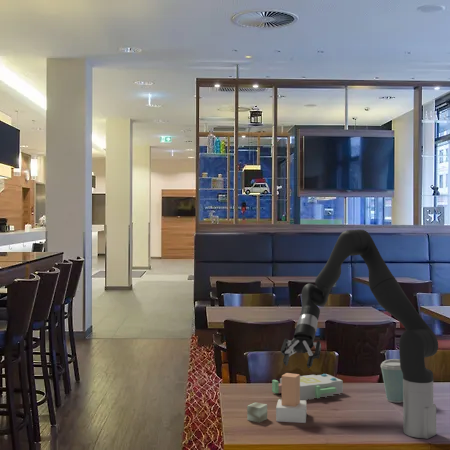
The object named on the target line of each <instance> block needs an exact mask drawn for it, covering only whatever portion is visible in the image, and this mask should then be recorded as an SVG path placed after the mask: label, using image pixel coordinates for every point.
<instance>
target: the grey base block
mask: <svg viewBox="0 0 450 450" xmlns="http://www.w3.org/2000/svg"><path fill="white" fill-rule="evenodd" d="M275 419H276V420H275V421H276V422H282V423H283V422H286V423H301V424H306V423H307V400H300V403H299V404H298V405H297V406H296V407H294V406H287V405H282V398H281V399H277V403H276V407H275Z"/></svg>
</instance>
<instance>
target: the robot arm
mask: <svg viewBox="0 0 450 450" xmlns="http://www.w3.org/2000/svg"><path fill="white" fill-rule="evenodd" d="M350 256H351V257H352V256H360V257H361V258H362V259H363V261H364V263H365V265H366V266H367V270H368V286H369V290H370V291H371V293H372V295H373V296H374V298H375V300H376V301H377V303H378V305H380V307H382V308H383V310H385V311H386V312H387V313H388V314H390V315H391V316H393V318H394V319H396V320H398V322H400V323H401V325H402V326H403V328H404V329H405V331H403V333H402V334H401V336H400V338H399V344H398V350H399V351H398V352H399V359H400V367H401V371H402V373H403V402H402V409H403V411H402V412H403V413H402V415H403V416H402V419H403V421H402V423H403V425H402V426H403V433H404V434H405V435H407V436H408V437H412V438H418V439H426V440H428V439H430V438H432V437H434V436H436V435H437V404H436V403H434V373H433V370H431V369H429V368H426V363H425V358H429V357H432V356H435V355H436V353H437V352H438V351H439V350H438V349H439V341H438V338H437V336H436V335H435V333H434V331H433V330H432V329H431V327H430V326H429V325H428V324H427V323H426V321H425V320H424V319H423V317H422V316H421V315H420V314H419V313H418V311H417V310H416V307H414V305H413V304H412V301H410V299H409V298H408V296H407V295H406V293H405V291H404V290H403V288H402V287H401V284H400V283H399V282H398V280H397V278H396V277H395V276H394V274H392V272H391V270H390V269H389V266H388V265H387V264H386V261H385V260H384V259H383V257H382V255H381V253H380V251H379V249H378V247H377V244H376V243H375V241H374V240H373V237H372V235H371V234H370V233H369V232H367V230H364V229H350V230H348V229H347V230H345V231H342V233H340V235H339V236H338V238H337V240H336V243H334V246H333V249H332V250H331V253H330V255H329V258H328V259H327V262H326V263H325V265H324V267H322V269H321V270H320V272H319V274H318V275H317V276H316V278H315V280H314V283H315V284H313V283H307V284H305V285H304V286H303V287H302V290H301V294H300V295H301V312H300V314H299V318H298V320H297V323H296V326H295V331H294V334H293V338H292V340H289V339H288V338H284V340H283V343H282V346H281V348H280V353H281V355H282V356H283V360H282V362H283V365H284V366H286V367H287V366H288V364H289V360H290V357H291V356H292V355H294V354H296V353H298V354H299V353H300V354H301V353H302V354H306V353H307V354H308V358H307V361H306V362H307V363H306V367H307V368H308V369H310V368H311V367H313V363H314V360H315V359H320V358H321V357H320V356H321V352H322V351H321V350H322V344H321V341H320V340H318V341H316V342H314V341H315V338H316V333H317V331H318V323H319V319H320V315H321V314H320V313H321V309H320V307H324V306H325V305H326V304H327V302H328V299H329V295H330V292H331V290H332V288H334V286H335V284H336V283H337V282H338V281H339V279H340V277H341V274H342V264H343V263H344V261H345V260H346V259H347V258H349V257H350ZM312 348H315V350H314V352H315V353H314V352H313V351H312V350H311V349H312Z"/></svg>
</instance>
